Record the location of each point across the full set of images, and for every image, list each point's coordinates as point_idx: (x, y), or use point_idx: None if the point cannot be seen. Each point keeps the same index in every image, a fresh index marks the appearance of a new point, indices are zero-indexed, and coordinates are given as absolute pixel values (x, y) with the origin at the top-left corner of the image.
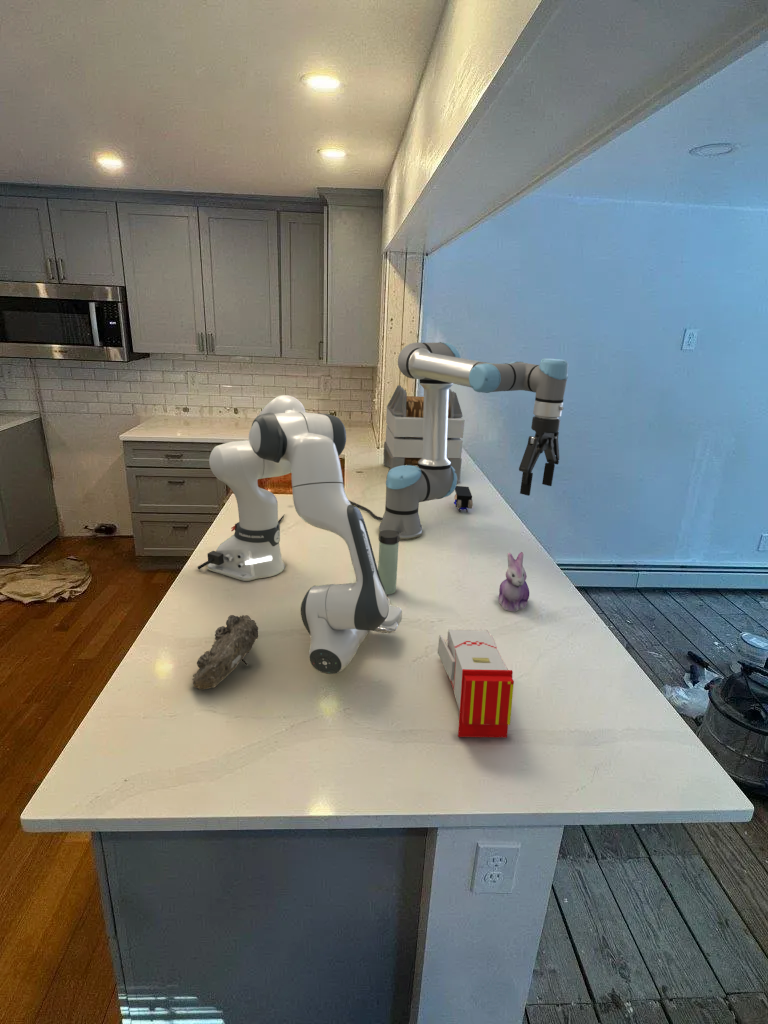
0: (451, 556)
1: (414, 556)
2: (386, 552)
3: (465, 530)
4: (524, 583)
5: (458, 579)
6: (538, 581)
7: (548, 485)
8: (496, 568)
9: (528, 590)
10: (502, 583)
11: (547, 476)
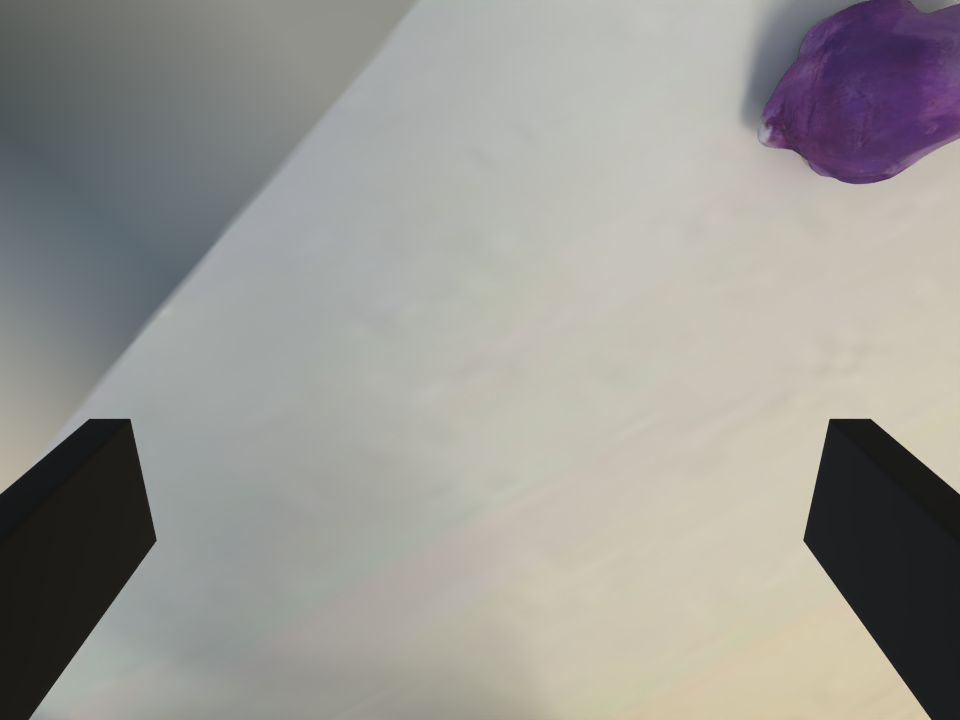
0: (563, 552)
1: (677, 643)
2: None
3: (253, 658)
4: (917, 32)
5: (765, 409)
6: (509, 113)
7: (133, 451)
8: (528, 350)
9: (881, 7)
10: (915, 162)
11: (63, 578)
